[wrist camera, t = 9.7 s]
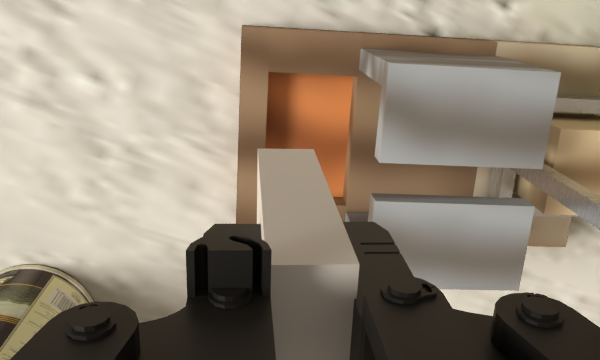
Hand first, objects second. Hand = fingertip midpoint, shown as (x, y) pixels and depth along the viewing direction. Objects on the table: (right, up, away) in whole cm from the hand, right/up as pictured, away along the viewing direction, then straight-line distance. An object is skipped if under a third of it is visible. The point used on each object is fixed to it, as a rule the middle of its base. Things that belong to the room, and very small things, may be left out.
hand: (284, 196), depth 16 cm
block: (+20, +3, +29) cm, 35 cm away
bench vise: (+9, +4, +30) cm, 32 cm away
